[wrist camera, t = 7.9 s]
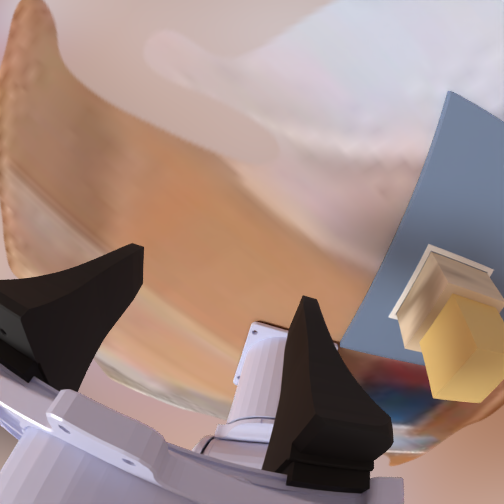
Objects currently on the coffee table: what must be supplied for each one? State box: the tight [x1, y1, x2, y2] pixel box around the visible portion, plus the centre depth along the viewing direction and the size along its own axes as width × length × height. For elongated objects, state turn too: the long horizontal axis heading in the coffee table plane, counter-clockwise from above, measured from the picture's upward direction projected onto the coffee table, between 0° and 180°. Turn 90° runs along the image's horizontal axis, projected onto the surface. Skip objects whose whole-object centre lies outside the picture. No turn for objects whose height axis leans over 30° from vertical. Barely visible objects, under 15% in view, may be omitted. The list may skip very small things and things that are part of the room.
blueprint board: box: [340, 91, 504, 366], centre depth 20 cm, size 22×16×1 cm
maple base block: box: [396, 252, 504, 352], centre depth 20 cm, size 6×6×4 cm
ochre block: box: [419, 293, 504, 403], centre depth 16 cm, size 4×4×5 cm
